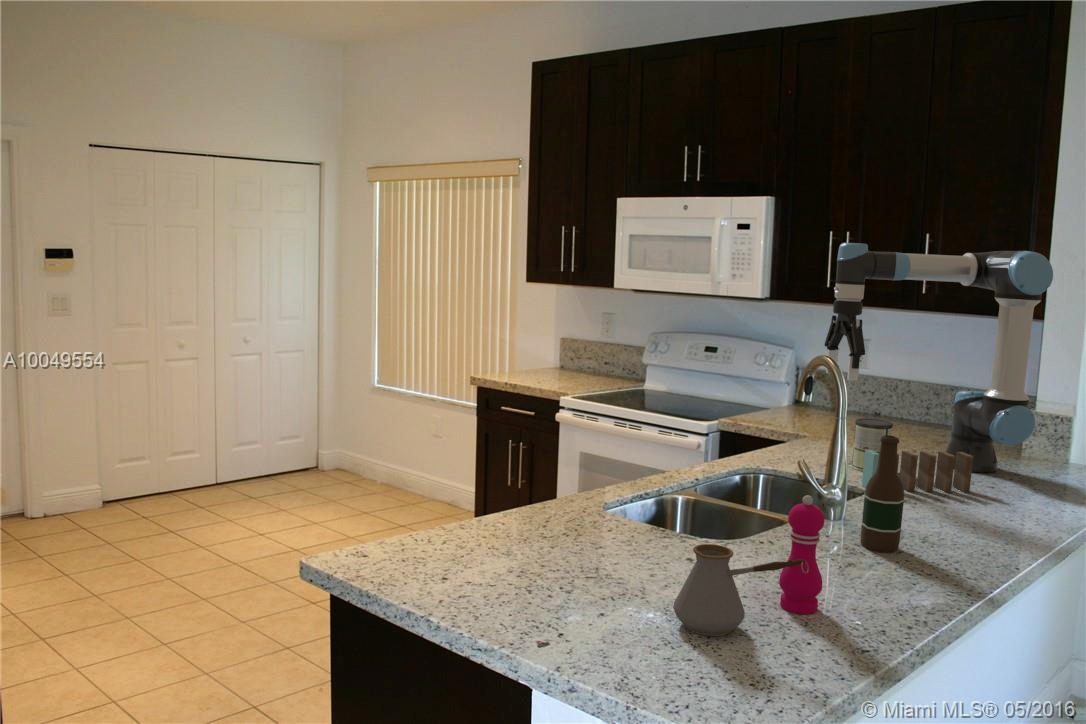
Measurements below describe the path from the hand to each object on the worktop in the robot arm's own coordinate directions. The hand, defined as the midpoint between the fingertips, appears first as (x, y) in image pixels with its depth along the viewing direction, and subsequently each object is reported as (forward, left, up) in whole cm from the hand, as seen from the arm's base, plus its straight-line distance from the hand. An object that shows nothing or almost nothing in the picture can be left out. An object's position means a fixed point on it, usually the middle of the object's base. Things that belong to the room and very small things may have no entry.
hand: (841, 376), depth 252 cm
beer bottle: (+17, +61, -28) cm, 69 cm away
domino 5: (-25, +14, -28) cm, 40 cm away
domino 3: (-14, +14, -28) cm, 34 cm away
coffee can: (-15, -8, -28) cm, 33 cm away
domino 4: (-20, +14, -28) cm, 37 cm away
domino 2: (-9, +14, -28) cm, 33 cm away
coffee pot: (+63, +104, -28) cm, 124 cm away
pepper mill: (+48, +93, -28) cm, 108 cm away
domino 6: (-30, +14, -28) cm, 43 cm away
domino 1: (-4, +14, -28) cm, 31 cm away
